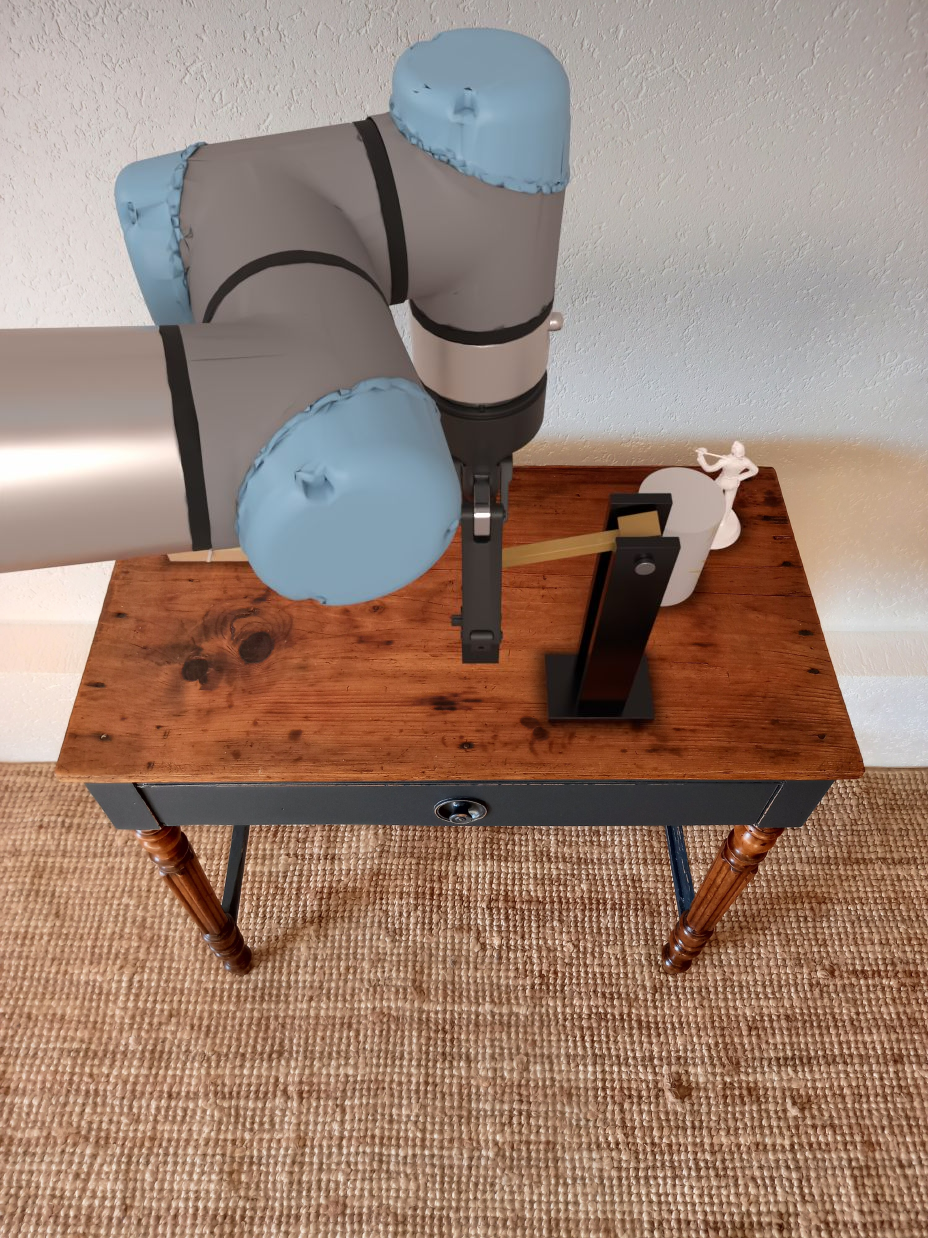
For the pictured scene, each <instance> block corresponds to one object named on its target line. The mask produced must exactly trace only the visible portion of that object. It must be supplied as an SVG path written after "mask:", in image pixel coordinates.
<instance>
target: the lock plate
mask: <svg viewBox="0 0 928 1238" xmlns="http://www.w3.org/2000/svg"><path fill="white" fill-rule="evenodd" d="M166 555H167V557H168V559H169V561H170V562H206V563H211V562H249V561H248V558H247V556H246V555H245V554H244V553H243V551H242V549H241V547H238V548H231V549H223V550H214V551H212V550H211V549H210V550H203V551H195V552H193V551H192V552H183V553H174V554H166Z"/></svg>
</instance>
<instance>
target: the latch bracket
mask: <svg viewBox="0 0 928 1238" xmlns="http://www.w3.org/2000/svg"><path fill="white" fill-rule="evenodd" d="M672 505H673V500H672V495H671V493H639V492H611V493H610V494H609V497H608V502H607V507H606V511H605V515H604V521H603V525H602V529H601V532H605V531H611V530H617V529H619V525H618V517H622V516H628V515H634V514H640V513H646V512H651V511H657V514H658V520H659V526H660V532H661V537H616V538H615V542H614V546H613V550H611V551H605V552H599V553H596V557H595V562H594V567H593V572H592V576H591V581H590V586H589V590H588V594H587V595H588V596H587V600H586V606H585V608H584V609H585V610H584V613H583V618H582V623H581V627H580V632H579V637H578V642H577V647H576V651H575V653H544V657H543V668H544V669H543V670H544V686H545V706H546V718H547V719H546V721H547V724H653V723H654V722H655V719H656V715H655V707H654V700H653V693H652V686H651V685H652V684H651V678H650V672H649V665H648V664H649V663H648V656H647V654H646V653H645V651H646V648H647V645H648V643H649V640H650V637H651V634H652V631H653V628H654V626H655V622H656V619H657V617H658V614H659V611H660V608H661V607H662V606H661V603H662V600H663V597H664V594H665V592H666V589H667V586H668V583H669V580H670V577H671V575H672V572H673V569H674V566H675V563H676V560H677V558H678V555H679V552H680V549H681V545H680V539H679V537H662V536H663V533H664V530H665V527H666V524H667V520H668V517H669V514H670V511H671V508H672Z"/></svg>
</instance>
